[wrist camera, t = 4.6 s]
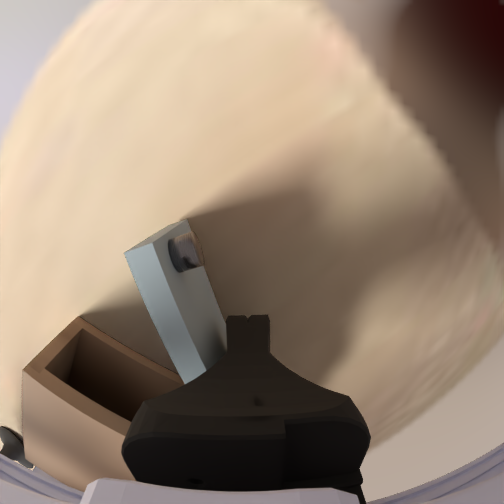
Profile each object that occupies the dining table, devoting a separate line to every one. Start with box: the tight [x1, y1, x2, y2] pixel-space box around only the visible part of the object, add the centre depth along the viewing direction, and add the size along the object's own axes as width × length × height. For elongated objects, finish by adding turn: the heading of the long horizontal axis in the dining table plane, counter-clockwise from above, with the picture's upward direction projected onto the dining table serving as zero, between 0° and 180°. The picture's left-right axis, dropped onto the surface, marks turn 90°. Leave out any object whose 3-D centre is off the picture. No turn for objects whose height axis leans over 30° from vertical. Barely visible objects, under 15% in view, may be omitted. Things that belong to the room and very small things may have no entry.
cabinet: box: [22, 316, 185, 492], centre depth 11 cm, size 9×9×5 cm
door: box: [124, 219, 227, 384], centre depth 10 cm, size 2×9×5 cm, turn 17°
